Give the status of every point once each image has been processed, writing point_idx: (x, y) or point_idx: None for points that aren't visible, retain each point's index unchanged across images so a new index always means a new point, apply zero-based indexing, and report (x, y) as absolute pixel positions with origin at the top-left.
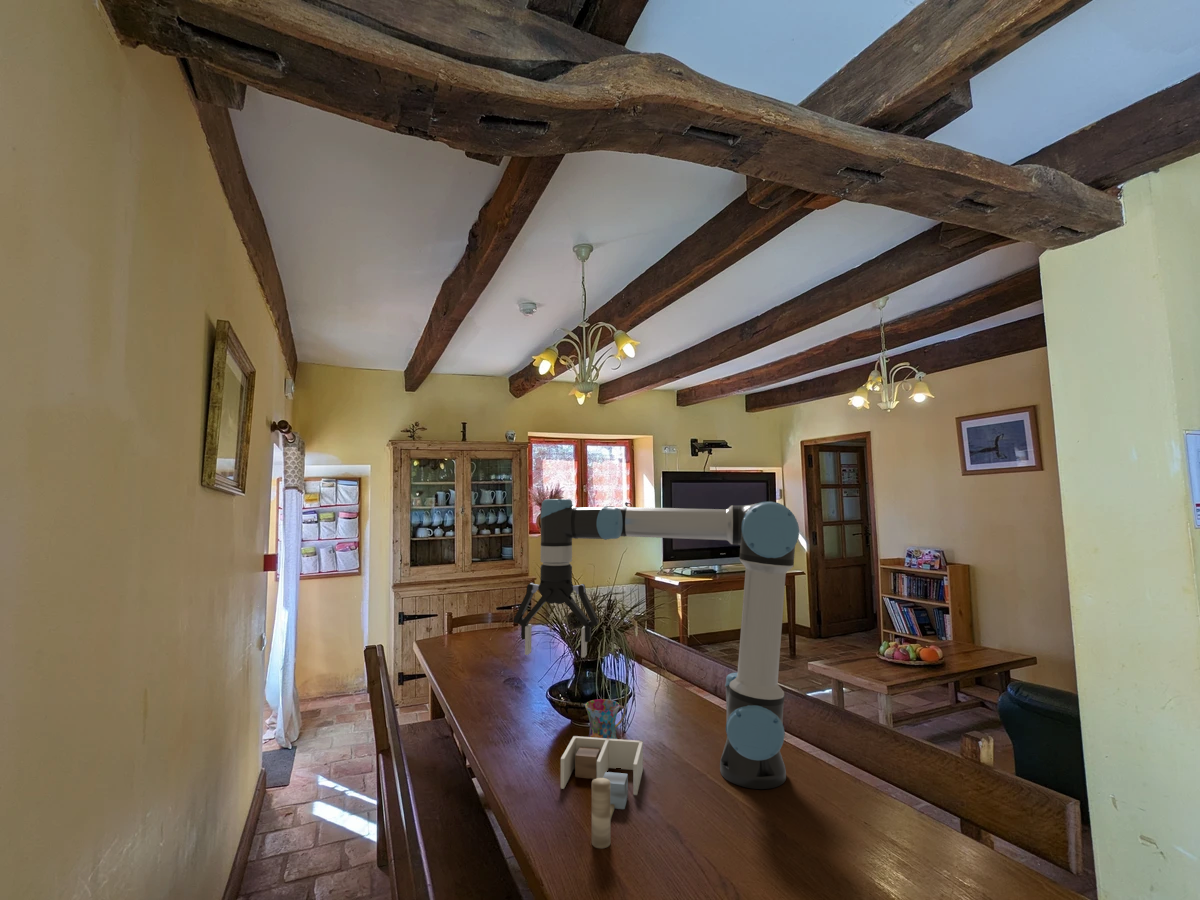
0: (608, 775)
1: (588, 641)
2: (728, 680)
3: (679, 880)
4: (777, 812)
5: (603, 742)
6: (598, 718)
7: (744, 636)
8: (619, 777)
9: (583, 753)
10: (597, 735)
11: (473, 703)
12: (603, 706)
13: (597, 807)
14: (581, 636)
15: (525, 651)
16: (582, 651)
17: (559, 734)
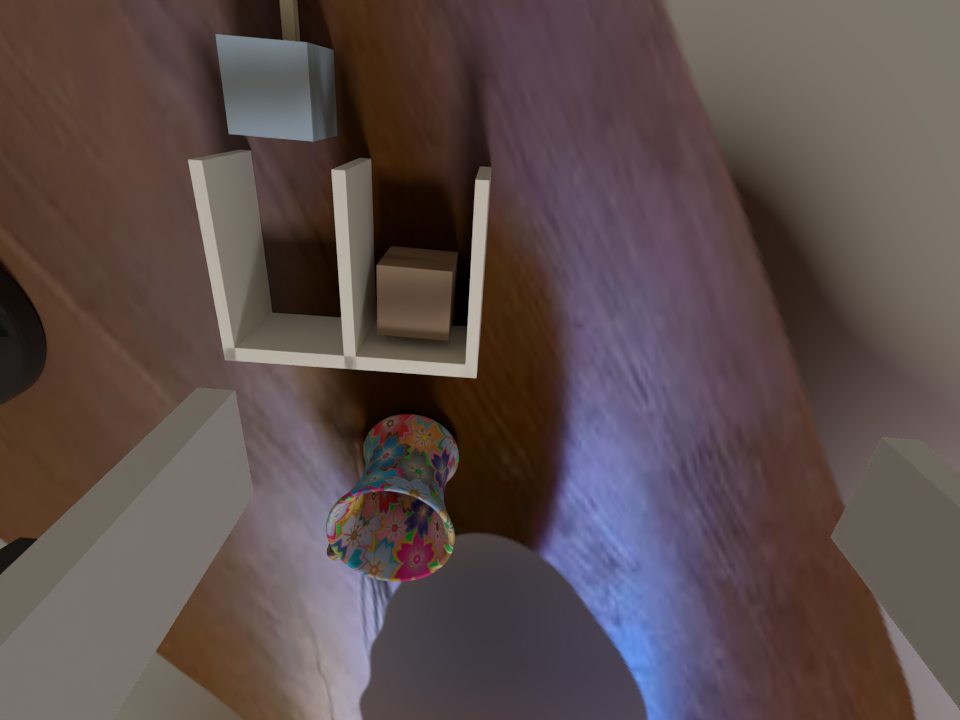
0: (294, 110)
1: (24, 545)
2: None
3: None
4: None
5: (365, 352)
6: (399, 475)
7: None
8: (249, 96)
9: (426, 288)
10: (414, 444)
11: (827, 661)
12: (399, 555)
13: None
14: (45, 593)
15: (941, 463)
16: (182, 425)
17: (551, 506)
